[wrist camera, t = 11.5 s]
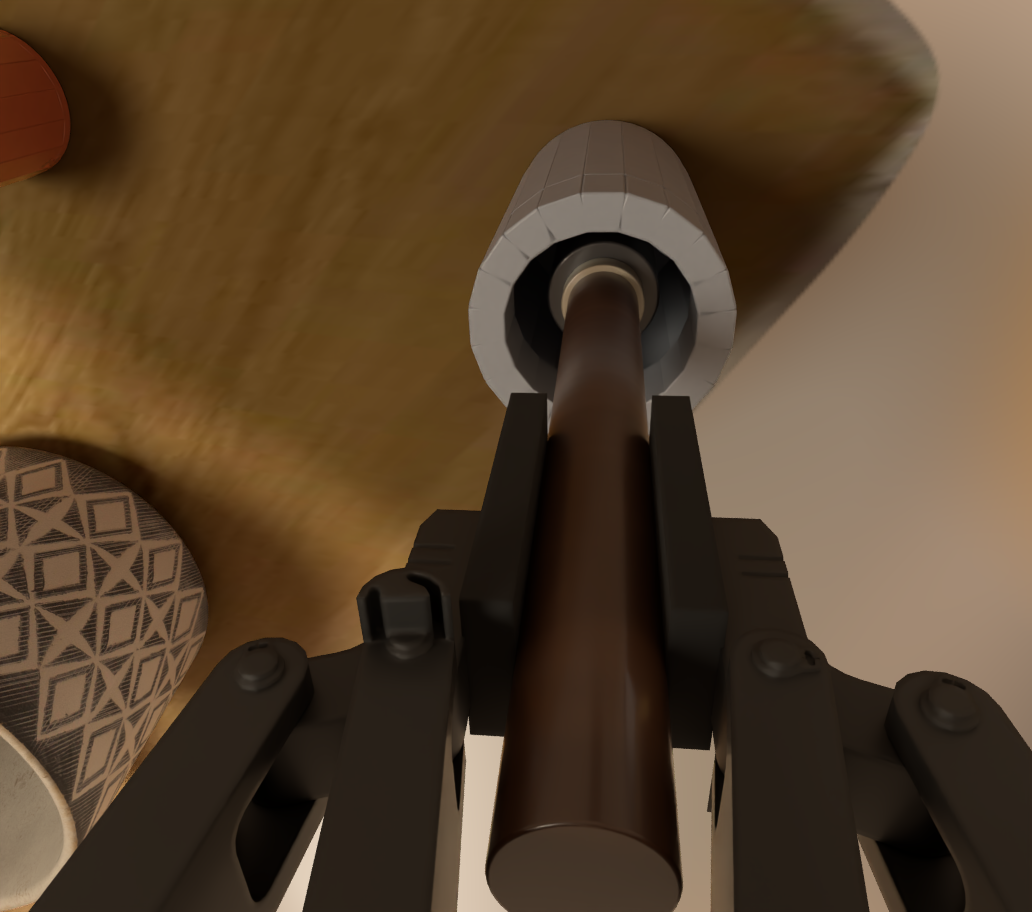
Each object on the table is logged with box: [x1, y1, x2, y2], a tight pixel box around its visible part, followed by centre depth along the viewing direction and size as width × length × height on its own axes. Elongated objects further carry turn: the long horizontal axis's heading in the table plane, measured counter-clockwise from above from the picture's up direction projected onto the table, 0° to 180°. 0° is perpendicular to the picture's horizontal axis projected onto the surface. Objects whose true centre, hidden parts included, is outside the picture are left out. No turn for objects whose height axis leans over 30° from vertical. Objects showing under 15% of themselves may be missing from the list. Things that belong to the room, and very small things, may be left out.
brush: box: [485, 232, 683, 912], centre depth 20 cm, size 4×4×25 cm
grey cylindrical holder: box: [468, 120, 737, 435], centre depth 29 cm, size 8×8×14 cm
